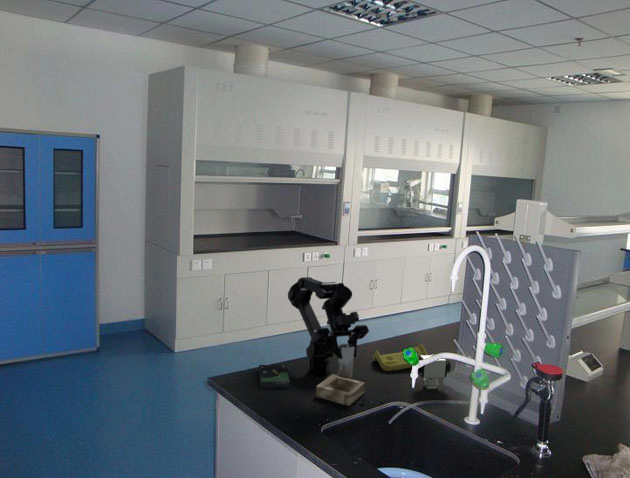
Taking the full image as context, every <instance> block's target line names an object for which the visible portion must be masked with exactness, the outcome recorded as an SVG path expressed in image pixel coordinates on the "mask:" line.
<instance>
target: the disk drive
mask: <svg viewBox="0 0 630 478" xmlns="http://www.w3.org/2000/svg"><path fill="white" fill-rule="evenodd" d="M258 374H259V388H264V389H265V388H270V389H274V388H279V389H281V387H282V388H291V379H290V378H291V377H290V373H289V368H288V364H270V365H266V364H259V365H258Z"/></svg>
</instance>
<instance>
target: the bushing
mask: <svg viewBox="0 0 630 478" xmlns="http://www.w3.org/2000/svg"><path fill="white" fill-rule="evenodd" d="M338 346H339V349H340V352H341V356H342V358H341V359H339V358H338V357H337V371H336V372H337V373H336V375H337V376H338V377H340V378H346V379H347V378H349V379H352V377H353V369H354V358H355V357H354V346H353V345H351V344H348V343H340V344H338Z"/></svg>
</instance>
